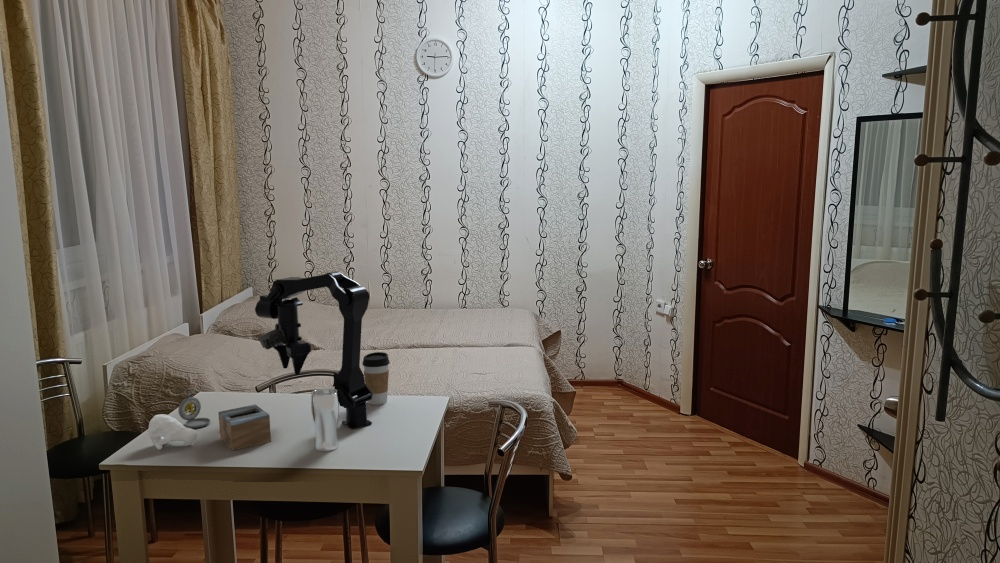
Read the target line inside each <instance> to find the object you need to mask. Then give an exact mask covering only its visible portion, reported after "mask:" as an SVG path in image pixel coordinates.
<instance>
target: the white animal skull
mask: <svg viewBox="0 0 1000 563" xmlns="http://www.w3.org/2000/svg"><path fill="white" fill-rule="evenodd" d="M147 432H148V436H149V439H150V440H151V442H152V444H153V445H154V447H155V448H156V449H157V450H159V451H160V450H161V449H162V448H163V445H166V444H169V443H170V442H171V443H174V442H175V443H176V442H183V443H184V446H185V447H188V446H193V444H194V442H195V441H197V439H198V433H197V431H196V430H195V429H194V428H190V427H186V425H183V424H182V422H180V421H178V420H177V418H175V417H173V416H171V415H169V414H164V413H163V414H162V413H160V414H155V415H154V416H153V417H152V418H151V419H150V421H149V423H148V430H147Z"/></svg>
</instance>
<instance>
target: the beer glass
mask: <svg viewBox="0 0 1000 563" xmlns="http://www.w3.org/2000/svg"><path fill="white" fill-rule="evenodd" d="M310 394H311V398H310V399H311V400H310V401H311V402H310V404H311V405H310V408H311V409H310V411H311V416H312V421H313V426H314V430H315V444H314V445H315V446H314V449H315V450H316V451H318V452H330V451H335V450H336V449H338V448H339V446H340V444H339V443H340V442H339V439H338V425H339V424H338V422H339V417H340V416H339V413H340V404H339V401H338V395H337V390H336V389H334V388H333V387H332V388H331V387H327V388H326V387H325V388H324V387H323V388H318V389H315V390H312V391H311V392H310Z"/></svg>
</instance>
